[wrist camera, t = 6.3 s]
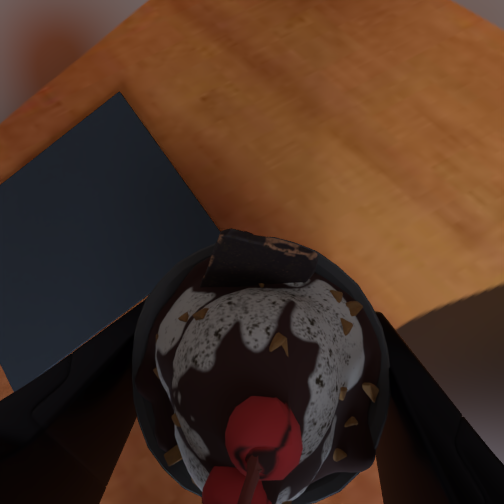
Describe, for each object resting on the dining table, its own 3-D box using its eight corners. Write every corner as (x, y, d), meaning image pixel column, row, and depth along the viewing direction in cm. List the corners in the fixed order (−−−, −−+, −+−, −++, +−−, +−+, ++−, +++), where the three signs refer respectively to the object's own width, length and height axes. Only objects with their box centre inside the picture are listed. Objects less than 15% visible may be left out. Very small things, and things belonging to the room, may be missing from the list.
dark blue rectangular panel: (224, 237, 19) (223, 237, 19) (17, 392, 20) (14, 393, 20) (120, 93, 22) (119, 91, 22) (-60, 234, 23) (-63, 234, 22)
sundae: (282, 408, 16) (209, 1431, 2) (198, 327, 18) (-260, 503, 3) (357, 320, 17) (905, 556, 2) (268, 245, 18) (162, 25, 3)
